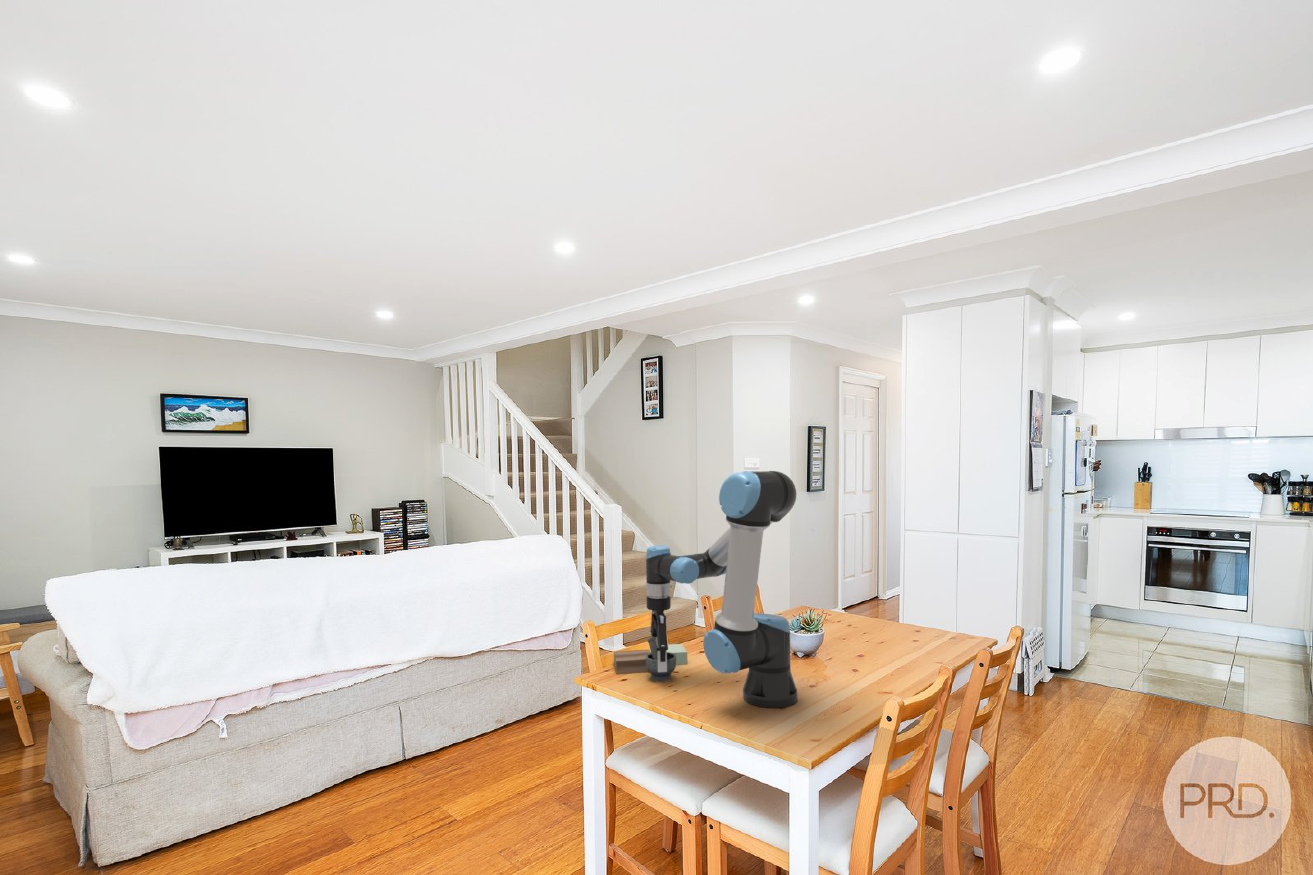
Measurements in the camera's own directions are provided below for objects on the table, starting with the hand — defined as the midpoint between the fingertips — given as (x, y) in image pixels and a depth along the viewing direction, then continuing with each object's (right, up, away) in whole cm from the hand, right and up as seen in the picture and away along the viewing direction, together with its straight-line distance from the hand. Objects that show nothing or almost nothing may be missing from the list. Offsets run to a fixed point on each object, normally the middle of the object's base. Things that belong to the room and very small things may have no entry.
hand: (659, 664), depth 200 cm
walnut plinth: (-8, -5, +10) cm, 14 cm away
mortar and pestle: (0, -4, 0) cm, 4 cm away
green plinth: (+4, -5, +17) cm, 18 cm away
